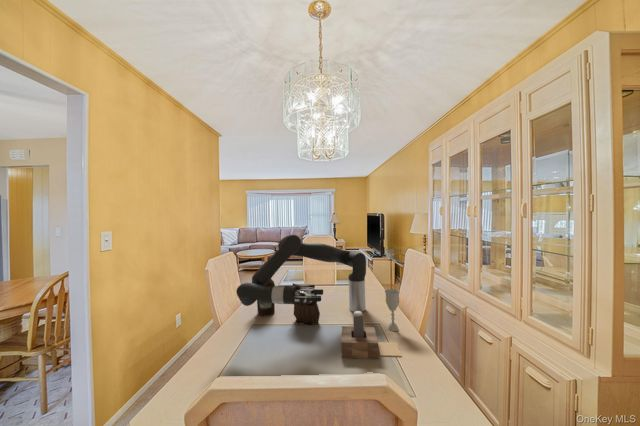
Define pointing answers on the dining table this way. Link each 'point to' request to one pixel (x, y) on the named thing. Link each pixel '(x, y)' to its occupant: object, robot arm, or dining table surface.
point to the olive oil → (266, 304)
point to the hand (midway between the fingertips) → (322, 295)
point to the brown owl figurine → (306, 310)
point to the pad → (389, 349)
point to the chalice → (392, 305)
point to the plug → (358, 324)
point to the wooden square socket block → (359, 344)
